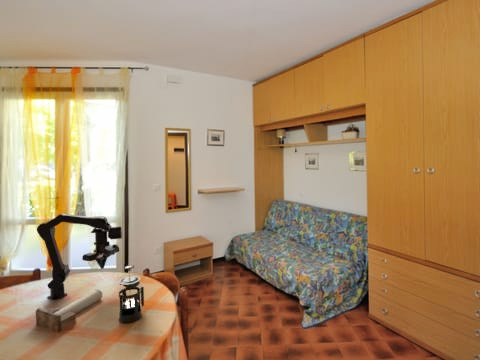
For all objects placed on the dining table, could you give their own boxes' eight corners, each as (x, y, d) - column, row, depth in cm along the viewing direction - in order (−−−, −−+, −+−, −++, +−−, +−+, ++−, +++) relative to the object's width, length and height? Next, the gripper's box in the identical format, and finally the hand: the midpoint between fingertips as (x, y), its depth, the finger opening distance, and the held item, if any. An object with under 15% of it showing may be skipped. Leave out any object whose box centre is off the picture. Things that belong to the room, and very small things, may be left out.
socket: (36, 324, 113) (35, 309, 112) (54, 315, 119) (54, 301, 119) (57, 332, 107) (57, 316, 107) (75, 322, 114) (75, 307, 114)
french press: (125, 327, 110) (124, 272, 109) (113, 320, 116) (111, 267, 115) (149, 314, 120) (148, 263, 119) (136, 308, 125) (135, 260, 124)
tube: (56, 319, 110) (103, 292, 134) (47, 313, 112) (95, 287, 135) (54, 330, 111) (101, 301, 135) (44, 324, 112) (93, 296, 136)
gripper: (96, 246, 132) (97, 277, 132) (126, 237, 149) (126, 265, 149) (81, 244, 136) (82, 274, 137) (111, 235, 153) (112, 262, 154)
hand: (102, 268), depth 144 cm, fingers closed
